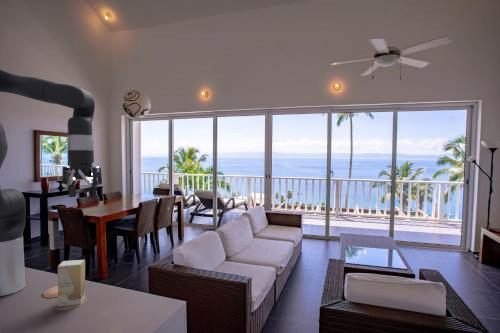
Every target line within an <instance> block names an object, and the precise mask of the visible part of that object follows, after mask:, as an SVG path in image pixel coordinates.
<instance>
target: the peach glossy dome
mask: <svg viewBox="0 0 500 333" xmlns="http://www.w3.org/2000/svg"><path fill="white" fill-rule="evenodd" d="M42 295H43V297H44V298H49V299H51V298H58V285H55V286H52V287H50V288H47V289H46V290H44V291H43V293H42Z"/></svg>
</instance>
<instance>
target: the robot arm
mask: <svg viewBox="0 0 500 333" xmlns="http://www.w3.org/2000/svg"><path fill="white" fill-rule="evenodd" d="M0 92H1V93H9V94H14V95H19V96H20V97H21V96H22V97H25V98H27V99H32V100H36V101H40V102H43V103H47V104H53V105H59V106H63V107H66V108H70V109H73V112H72V117H69V118H68V119H67V120H68V121H67V142H66V143H67V145H66V146H67V162H68V164H70V165H67V166H66V165H65V166H62V184H63V185H66V187H67V194H68V197H69V198H75V197H76V196H77V186H76V184H77V183H78V181H80V180H84V182H85V183H87V185H88V197H89V198H88V199H95V198H96V197H97V194H98V193H97V192H98V190H97V189H98V188H97V187H98V186H99V185H102V184H103V178H102V167H101V166H93V163H94V162H95V150H94V138H93V120H94V114H95V108H96V102H95V99H94V96H93V95H92V94H91V92H89V91H87V90H86V89H83V88H80V87H78V86H75V85H70V84H65V83H58V82H55V81H52V80H46V79H42V78H39V77H33V76H23V75H18V74H13V73H10V72H8V71H6V70H5V71H4V70H3V69H0ZM8 148H9V146H8V141H7V135H6V130H5V128H4V125H3V124H2V122H1V121H0V169H1V167H2V166H3V163H4V161H5V159H6V156H7V153H8ZM26 204H27V203H26V199H25V196H24V194H23V192H21V191H20V190H19V189H17V188H6V189H5V188H4V189H1V187H0V297H4V296H8V295H12V294H15V293H17V292H20V291H21V290H23V289H25V287H26V279H25V278H26V276H25V254H24V248H25V247H24V229H25V228H26V218H27V217H26V215H27V213H26V210H27V206H26Z"/></svg>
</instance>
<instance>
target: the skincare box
mask: <svg viewBox="0 0 500 333" xmlns="http://www.w3.org/2000/svg"><path fill="white" fill-rule="evenodd" d="M57 286H58V297H57V301H58V307H60V306H70V305H79V304H81V303H82V302H83V300H84V299H85V295H86V259H75V260H74V259H73V260H63V261H62V262H60V263H59V264H58V266H57Z"/></svg>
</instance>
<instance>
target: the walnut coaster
mask: <svg viewBox="0 0 500 333" xmlns="http://www.w3.org/2000/svg"><path fill="white" fill-rule="evenodd" d="M88 300H89V296H87V294H85V299H84V300H83V302H82V303H81V304H79V305H70V306H60V307H58V300H57V301H56V302H55V303H54V304H53V305H52V308H53V309H54V310H57V311H68V310H72V309H75V308H78V307H80V306H83V305H84V304H85V303H87V301H88Z"/></svg>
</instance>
